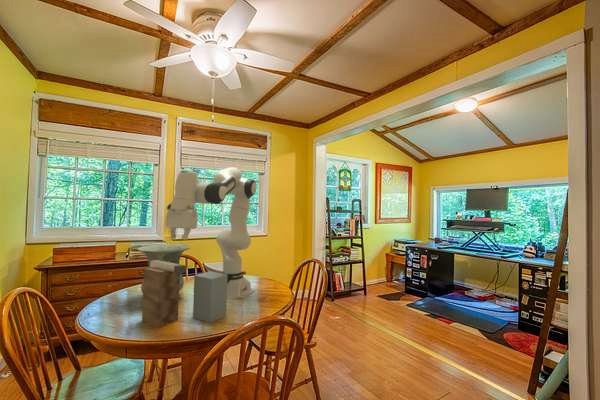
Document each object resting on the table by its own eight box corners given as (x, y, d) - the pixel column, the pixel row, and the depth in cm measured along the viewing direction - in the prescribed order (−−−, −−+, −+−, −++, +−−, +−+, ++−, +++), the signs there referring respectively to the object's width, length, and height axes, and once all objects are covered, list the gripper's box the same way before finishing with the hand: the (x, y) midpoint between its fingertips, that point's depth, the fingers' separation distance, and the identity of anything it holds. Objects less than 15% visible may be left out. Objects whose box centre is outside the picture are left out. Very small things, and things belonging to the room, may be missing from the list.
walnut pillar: (162, 314, 134) (164, 265, 135) (177, 319, 128) (179, 268, 129) (141, 321, 125) (144, 268, 126) (157, 327, 119) (159, 272, 120)
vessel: (148, 313, 135) (151, 252, 136) (126, 301, 151) (129, 246, 152) (198, 299, 156) (199, 247, 157) (174, 290, 172) (175, 242, 173)
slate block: (209, 310, 140) (210, 271, 141) (226, 315, 134) (227, 274, 135) (192, 316, 132) (194, 275, 132) (210, 322, 126) (211, 279, 126)
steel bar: (156, 266, 132) (156, 259, 132) (185, 272, 121) (186, 265, 121) (150, 267, 130) (150, 260, 130) (179, 273, 119) (180, 266, 119)
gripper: (203, 207, 113) (198, 240, 111) (178, 208, 126) (173, 238, 124) (189, 204, 108) (184, 239, 106) (164, 206, 121) (159, 237, 119)
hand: (178, 239), depth 115 cm, fingers open, 8 cm apart
